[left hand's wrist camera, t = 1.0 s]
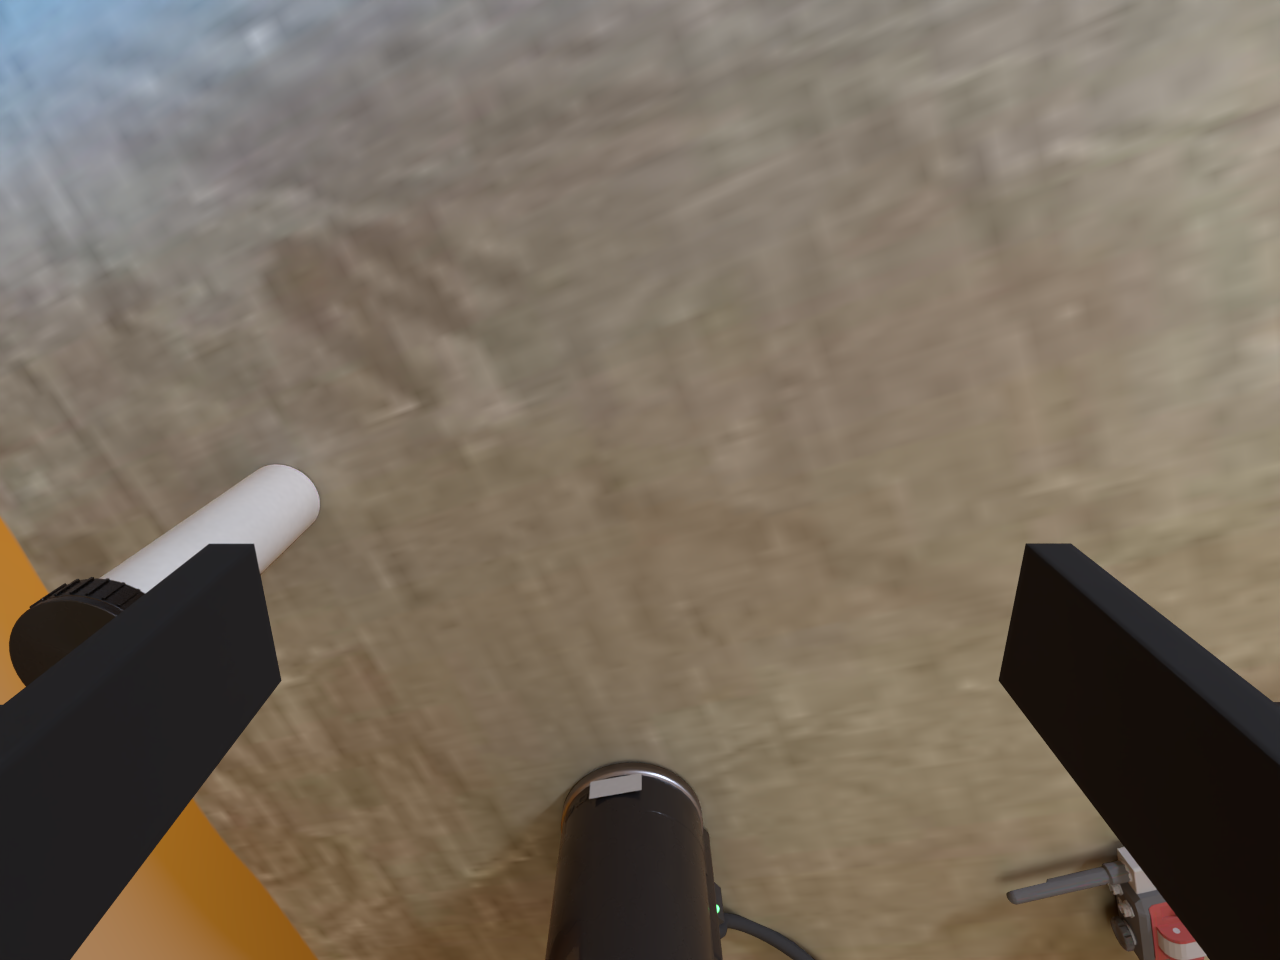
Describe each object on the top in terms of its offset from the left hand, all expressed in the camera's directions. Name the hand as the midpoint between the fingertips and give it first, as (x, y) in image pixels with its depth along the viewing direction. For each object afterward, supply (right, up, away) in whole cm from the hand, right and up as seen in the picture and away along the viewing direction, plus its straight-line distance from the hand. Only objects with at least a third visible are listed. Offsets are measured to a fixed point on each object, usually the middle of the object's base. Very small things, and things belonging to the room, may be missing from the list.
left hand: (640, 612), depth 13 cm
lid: (-20, -4, +15) cm, 25 cm away
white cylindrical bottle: (-20, +1, +29) cm, 36 cm away
